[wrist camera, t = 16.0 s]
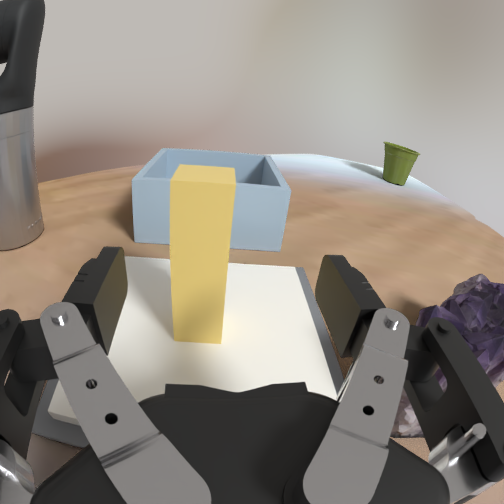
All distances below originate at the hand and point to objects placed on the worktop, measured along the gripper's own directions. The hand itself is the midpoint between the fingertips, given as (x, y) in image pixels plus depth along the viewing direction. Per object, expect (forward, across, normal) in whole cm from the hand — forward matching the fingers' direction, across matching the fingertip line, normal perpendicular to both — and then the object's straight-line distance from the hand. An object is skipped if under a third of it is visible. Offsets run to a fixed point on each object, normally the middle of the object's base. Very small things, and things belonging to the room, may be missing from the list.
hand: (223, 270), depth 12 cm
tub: (+32, 0, +11) cm, 33 cm away
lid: (+8, +1, +11) cm, 13 cm away
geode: (+1, -20, +12) cm, 24 cm away
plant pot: (+69, -54, +12) cm, 88 cm away
